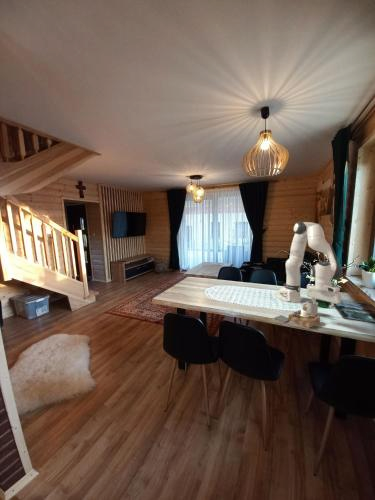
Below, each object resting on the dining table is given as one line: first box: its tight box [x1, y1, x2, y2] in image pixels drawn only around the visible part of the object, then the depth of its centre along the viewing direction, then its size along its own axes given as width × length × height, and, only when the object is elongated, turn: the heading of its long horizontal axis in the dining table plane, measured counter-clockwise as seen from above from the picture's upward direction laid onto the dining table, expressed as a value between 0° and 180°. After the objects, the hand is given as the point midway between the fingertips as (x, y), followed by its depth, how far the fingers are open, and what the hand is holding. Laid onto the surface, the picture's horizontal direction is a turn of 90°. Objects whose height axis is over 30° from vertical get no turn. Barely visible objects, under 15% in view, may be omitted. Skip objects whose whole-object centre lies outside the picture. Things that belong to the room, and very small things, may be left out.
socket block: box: [287, 312, 321, 329], centre depth 140 cm, size 14×14×5 cm
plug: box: [299, 308, 310, 318], centre depth 140 cm, size 6×6×9 cm
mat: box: [273, 315, 291, 324], centre depth 144 cm, size 8×8×1 cm
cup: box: [301, 300, 319, 316], centre depth 153 cm, size 7×10×9 cm
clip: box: [292, 305, 307, 315], centre depth 142 cm, size 15×3×3 cm, turn 121°
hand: (322, 306), depth 136 cm, fingers open, 8 cm apart
